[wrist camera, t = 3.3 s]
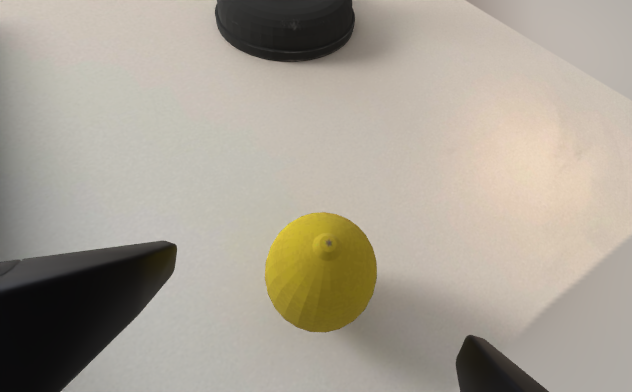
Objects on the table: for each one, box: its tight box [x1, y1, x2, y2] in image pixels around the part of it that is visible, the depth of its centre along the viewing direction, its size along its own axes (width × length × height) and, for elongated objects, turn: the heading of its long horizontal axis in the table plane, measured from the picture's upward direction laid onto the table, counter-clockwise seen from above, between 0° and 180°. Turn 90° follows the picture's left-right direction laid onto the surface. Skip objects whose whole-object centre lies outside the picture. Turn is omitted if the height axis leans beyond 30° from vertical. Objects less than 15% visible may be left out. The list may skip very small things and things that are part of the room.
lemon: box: [265, 212, 377, 332], centre depth 15 cm, size 6×6×8 cm
